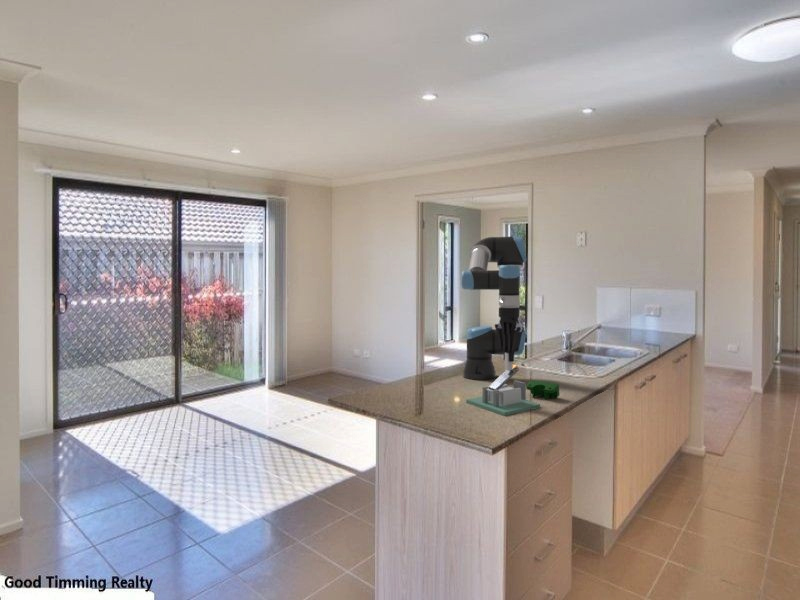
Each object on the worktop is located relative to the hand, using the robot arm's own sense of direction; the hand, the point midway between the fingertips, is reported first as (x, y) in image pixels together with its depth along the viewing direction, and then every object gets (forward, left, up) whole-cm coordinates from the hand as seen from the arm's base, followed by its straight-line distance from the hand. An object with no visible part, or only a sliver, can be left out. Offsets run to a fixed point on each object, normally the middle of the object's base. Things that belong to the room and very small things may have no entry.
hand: (508, 369), depth 186 cm
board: (+3, 0, -13) cm, 13 cm away
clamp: (-18, +1, -13) cm, 22 cm away
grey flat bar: (+2, 0, -3) cm, 4 cm away
